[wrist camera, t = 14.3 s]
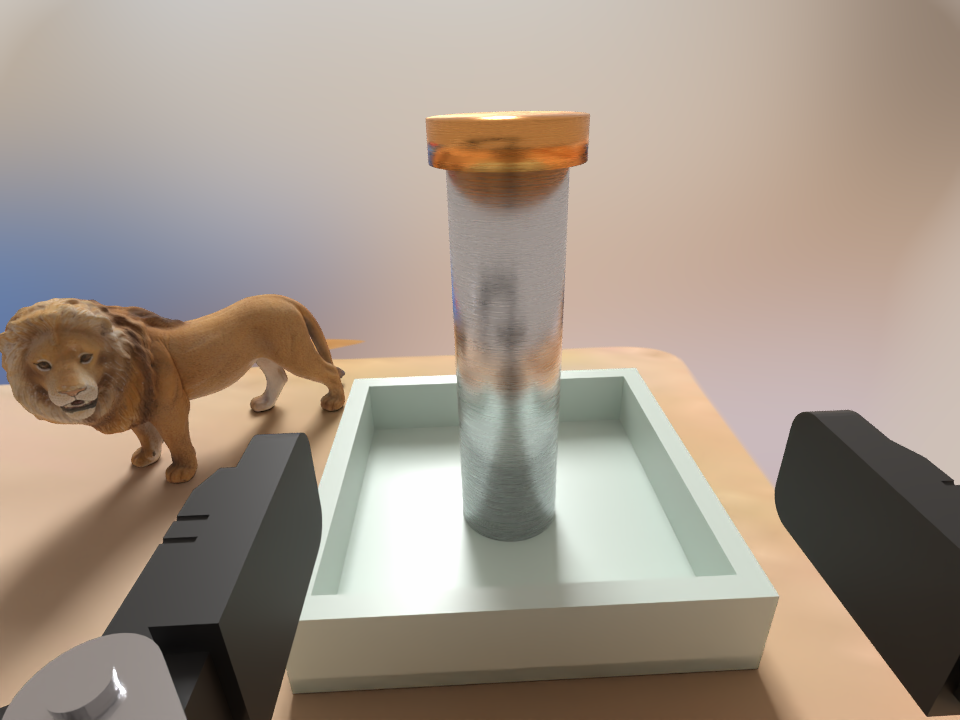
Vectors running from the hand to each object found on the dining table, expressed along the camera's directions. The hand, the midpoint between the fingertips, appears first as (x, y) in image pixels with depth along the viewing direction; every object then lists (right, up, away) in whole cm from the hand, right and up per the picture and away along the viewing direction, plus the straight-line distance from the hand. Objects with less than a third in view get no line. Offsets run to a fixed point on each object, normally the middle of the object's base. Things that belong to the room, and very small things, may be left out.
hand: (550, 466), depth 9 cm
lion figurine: (-14, -3, +18) cm, 23 cm away
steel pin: (0, -4, +13) cm, 13 cm away
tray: (0, -5, +13) cm, 14 cm away
